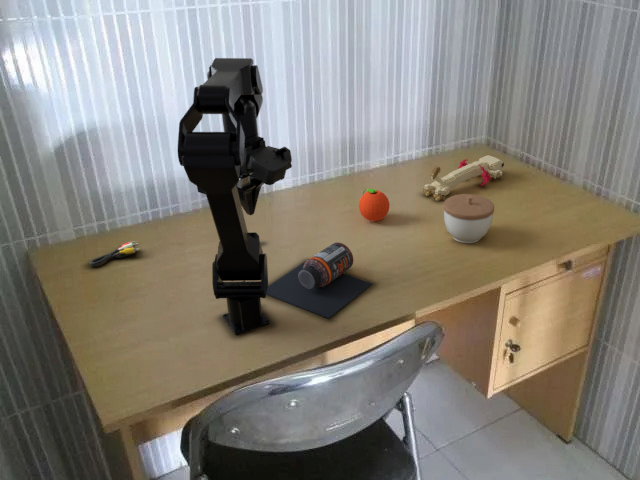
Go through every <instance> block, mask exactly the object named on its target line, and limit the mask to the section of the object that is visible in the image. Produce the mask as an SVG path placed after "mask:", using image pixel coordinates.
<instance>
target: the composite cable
mask: <svg viewBox="0 0 640 480" xmlns="http://www.w3.org/2000/svg"><path fill="white" fill-rule="evenodd" d="M135 242H136V241H135V240H134V241H127V242H125V243H123V244H121V245H119V246H118V247H117V248H115V249H114V250H113V251H110V252H109V253H106V254H103V255H101V256H97V257H95V258H93V259H91V260H90V261H89V265H90V267H98V266H100V265H102V264H103V263H104V264H105V262H107V261H109V260H112V259H117V258H118V259H119V258H120V259H121V258H122V259H123V258H126V257H130V256H132V255H133V254H134V253H136V252H138V251H140V250H141V249H140V248H135V247H136V246H137V247H138V246H139V243H138V242H137V243H135Z"/></svg>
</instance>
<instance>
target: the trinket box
mask: <svg viewBox="0 0 640 480" xmlns="http://www.w3.org/2000/svg"><path fill="white" fill-rule="evenodd" d="M494 212H495V204H494V203H493V201H492V200H490V199H489V198H487V197H485V196H482V195H479V194H471V193H470V194H469V193H461V194H455V195H452V196H449V197H447V198H446V199H445V200H444V201H443V219H444V220H443V221H444V226H445V228H446V230H447V233H448V234H449V235H450V236H451V237H452V238H453V240H454V241H456V242H458V243H461V244H474V243H477V242H479V241H481V239H482V238H483V237H485V236H486V235H487V233H488V232H489V230H490V228H491V226H492V224H493V223H492V222H493V218H494Z"/></svg>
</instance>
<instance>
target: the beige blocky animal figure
mask: <svg viewBox="0 0 640 480" xmlns="http://www.w3.org/2000/svg"><path fill="white" fill-rule="evenodd" d="M467 161H469V159H468V158H465V159H462V161H460V162H459V166H458V167H457V169H455V170H453V171H451V172H449V173H447V175H445V176H442V177H440V176H439V174H440V172H441V167H440V166H438V165H436V166H433V168H432V171H431V173H430V179H431V180H432V181H433V182H431V183H430V184H429V183H426V184H424V188H422V192H423V193H424V196H425V197H430V196H431V195H432V194H433V195H432V196H433V198H434V201H436V202H439V201H441V200H443V196H448V195H449V194H450V190H451V189H454V188H456V187H457V186H459V184H462V183H464V182H466V181H468V180H469V179H475V178H476V177H478V176H481V177H482V181H481V184H479V187H484V186H486V185H487V184H488V183H489V182H490V181H491V180H492V178H494V180H496V179H497V178H499V177H502V176H503V171H502V169H503V168H504V167H505V163H504V161H502V160H501V159H500V158H497V157H495V156H492V155H484V156H483V157H480V158H478V160H475V161H473V162H472V163H467ZM433 191H434V193H433Z"/></svg>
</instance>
